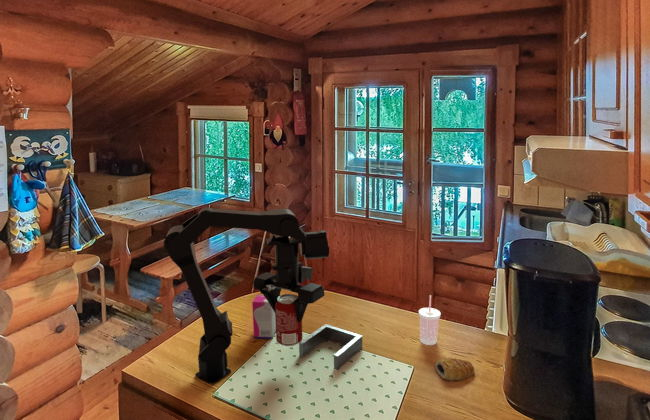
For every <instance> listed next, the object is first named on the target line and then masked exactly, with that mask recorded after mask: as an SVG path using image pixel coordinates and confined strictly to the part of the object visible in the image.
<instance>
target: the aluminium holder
mask: <svg viewBox="0 0 650 420" xmlns="http://www.w3.org/2000/svg"><path fill="white" fill-rule="evenodd" d="M326 340H328V341H330V342H334V343H336V344H339V345H343V346H342V348H340V349H339V350H338V351H337V352H336V353H334V354H333V370H335V369H336V371H339V370H340V369H341V368H342V367H344V365H346V364H347V363H348V362H349V361H350V360H351V359H353V357H354V356H356V355H357V354H358V353H359V352H360V351H362V350H363V335H361V334H358V333H355V332H352V331H349V330H346V329H343V328H339V327H337V326H334V325H330V324H327V323H325V324H323V325H322V326H320V327H318V329H316V330H314V331H313V332H312V333H310V334H309V335H308V336H306V337H305V338H304V339H303V338H302V341H301V342H300V343H298V350H299V351H298V354H299V357H301V356H304V357H305V356H306V355H307V354H309V353H311V352H312V351H313V350H314V349H316V348H317V347H319V346H320V345H321V344H322V343H324V342H325V341H326ZM315 347H316V348H315ZM311 350H312V351H311Z"/></svg>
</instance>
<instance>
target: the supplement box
mask: <svg viewBox="0 0 650 420" xmlns="http://www.w3.org/2000/svg"><path fill="white" fill-rule="evenodd" d="M252 320H253V321H252V322H253V324H252V325H253V339H262V340H263V339H266V340H267V339H268V340H269V339H270V340H273V339H274V336H276V320H275V312H274V311H273V309H272V307H271V305H270V304H269V302H268V301H267V299H266V298H265V296H264V295H263V294H256V296H255V297H254V299H253V300H252Z"/></svg>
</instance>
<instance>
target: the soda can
mask: <svg viewBox="0 0 650 420" xmlns="http://www.w3.org/2000/svg"><path fill="white" fill-rule="evenodd" d="M297 298H298V294H297V295H296V294H294V293H284V294H280V296H279V297H278V298H277V302H276V304H275V320H276V332H275V338H276V339H275V340H276V343H278V344H279V345H281V346H285V347H293V346H296V345H299V343H300V342H301V341H302V340H303V320H302V321H301V322H298V320H297V316H296V311H295V305H294V300H296V299H297Z"/></svg>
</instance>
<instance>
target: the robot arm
mask: <svg viewBox="0 0 650 420" xmlns="http://www.w3.org/2000/svg"><path fill="white" fill-rule="evenodd" d="M299 223H300V222H299V220H298V217H296V215H295V213H294V212H293V211H292V210H290V209H288V208H276V209H275V208H274V209H269V210H266V211H250V210H237V209H235V210H234V209H225V208H224V209H222V208H212V207H210V206H207V207H202V208H201V209H200V210H199V211H198V212H197V213H196V214H194V215H193V216H192V217H190V218H188V219H187V220H186V221H184V222H183V223H182V224H181V225H173V226H172V227H171V228H170V229H169V230H168V232H167V234H166V236H165V238H164V240H163V248H164V250H165V252H166V254H167V255H168V256H169V258H170V259H171V261H172V262H173V263H174V264H175V265H176V266H177V267H178V268H179V269H180V271H181V273H182V276H183V278H184V281H185V283H186V284H187V287H188V289H189V292H190V294H191V296H192V298H193V301H194V303H195V305H196V307H197V310H198V312H199V315H200V317H201V320H202V323H203V324H202V325H203V332H204V333H203V335H201V337H200V338H199V345H198V346H199V347H198V355H197V361H198V372H196V373H195V377H196V378H198V379H200V380H202V381H204V382H206V383H208V384H211V385H214V384H215V383H217V382H218V381H220V380H222V379H223V378H225V377H226V376H228V375H229V374H230V373H231V374H232V370H231V369H230V368H228V355H227V354H228V353H227V352H226V351H227V349H228V348H229V347H230V345H231V343H232V337H233V322H232V321H230V319H229V315H228V311H227V310H225V311H223V312H221V311H220V310H219V309H218V307H217V305H216V303H215V300H214V298H213V296H212V293H211V291H210V289H209V287H208V286H209V285H208V284H207V281H206V279H205V277H204V275H203V272H202V269H201V266H200V265H199V263H198V259H197V254H196V248H195V241H197V239H199V237H200V236H202V234H204V233H205V231H207V230H208V229H209V228H211V227H213V228H214V227H215V228H216V227H217V228H228V229H244V230H259V231H262V232H266V233H269V234H271V235H270V236H269V237H268V238H267V239H266V244H267V246H269V247H271V246H274V257H275V258H274V259H275V260H274V261H275V262H274V263H275V264H273V265H271V268H272V269H271V270H272V271H275V273H271V272H268V271H266V272H263V273H261V274H260V275H258V276H255V277H254V278H253V281H252V285H253V290H257V291H259V292H260V294H261V295H264V296H265V298H266V299H267V301H268V302H269V304H270V305H271V307H272V309H273V311H274V312H275V304H276V302H277V298H278V297H279V296H281V291H282V290H283V291H287V292H291V293H292V292H293V293H296V294H297V296H298V298H297V299H296V300H294V305H295V311H296V316H297V320H298V322H301V321H302V322H303V319H304V316H305V312H306V310H307V307H308V305H309V304H311V305H312V304H314V303H316V302H317V301H318V300H321V298H323V297H325V288H324V286H323V285H321V284H318V283H313V282H309V283H308V284H306V285H300V284H302V283H304V282H305V280H308V281H312V276H313V271H314V268H313V267H309V266H303V262H300V261H299V253H300V256H304V259H305V260H310V259H311V260H312V259H313V260H314V259H322V258H323V259H324V258H329V256H330V246H329V243H328V242H329V241H328V237H327V232H326V230H324V229H323V230H317V231H307V232H305V231H304V230H303V229H304V228H302V227H300V224H299Z"/></svg>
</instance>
